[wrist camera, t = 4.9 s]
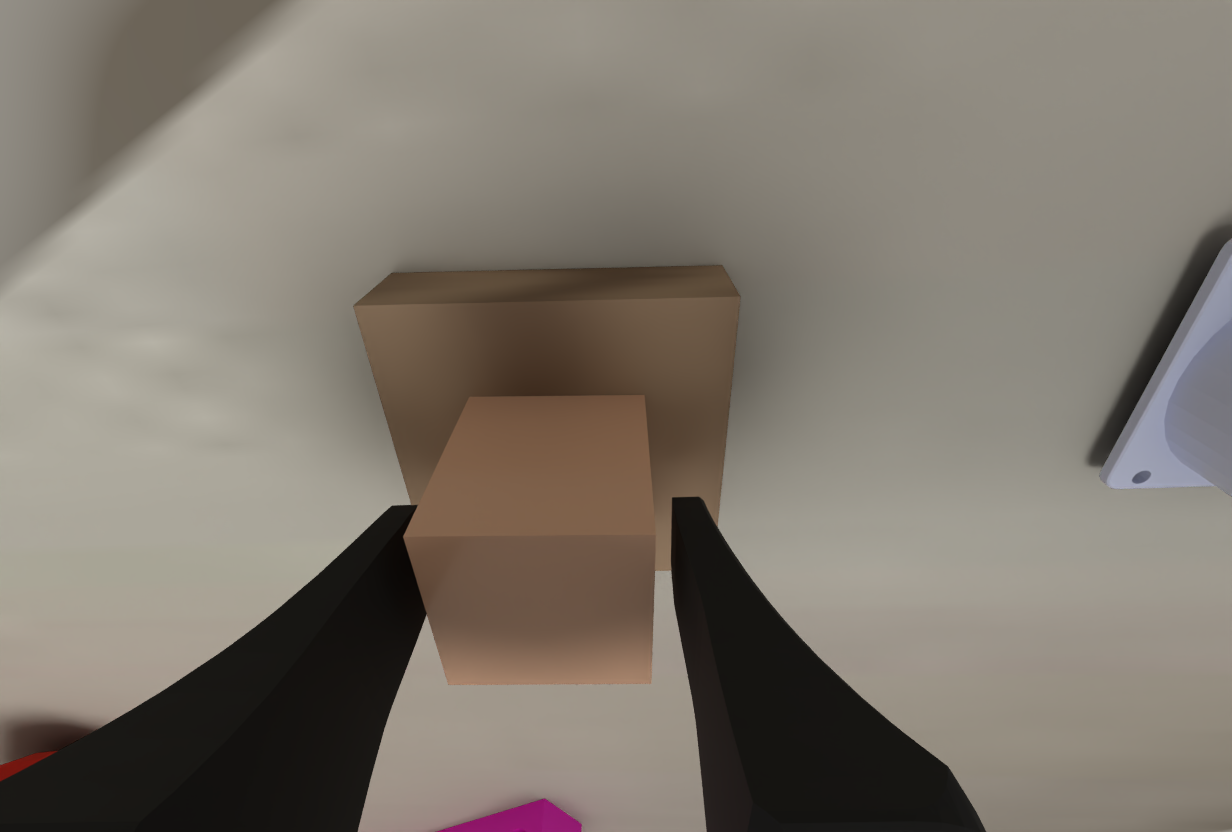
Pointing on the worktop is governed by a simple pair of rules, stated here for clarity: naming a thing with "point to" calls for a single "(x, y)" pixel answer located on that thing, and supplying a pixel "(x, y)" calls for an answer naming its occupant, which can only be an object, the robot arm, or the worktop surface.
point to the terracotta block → (540, 542)
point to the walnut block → (561, 360)
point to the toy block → (523, 820)
